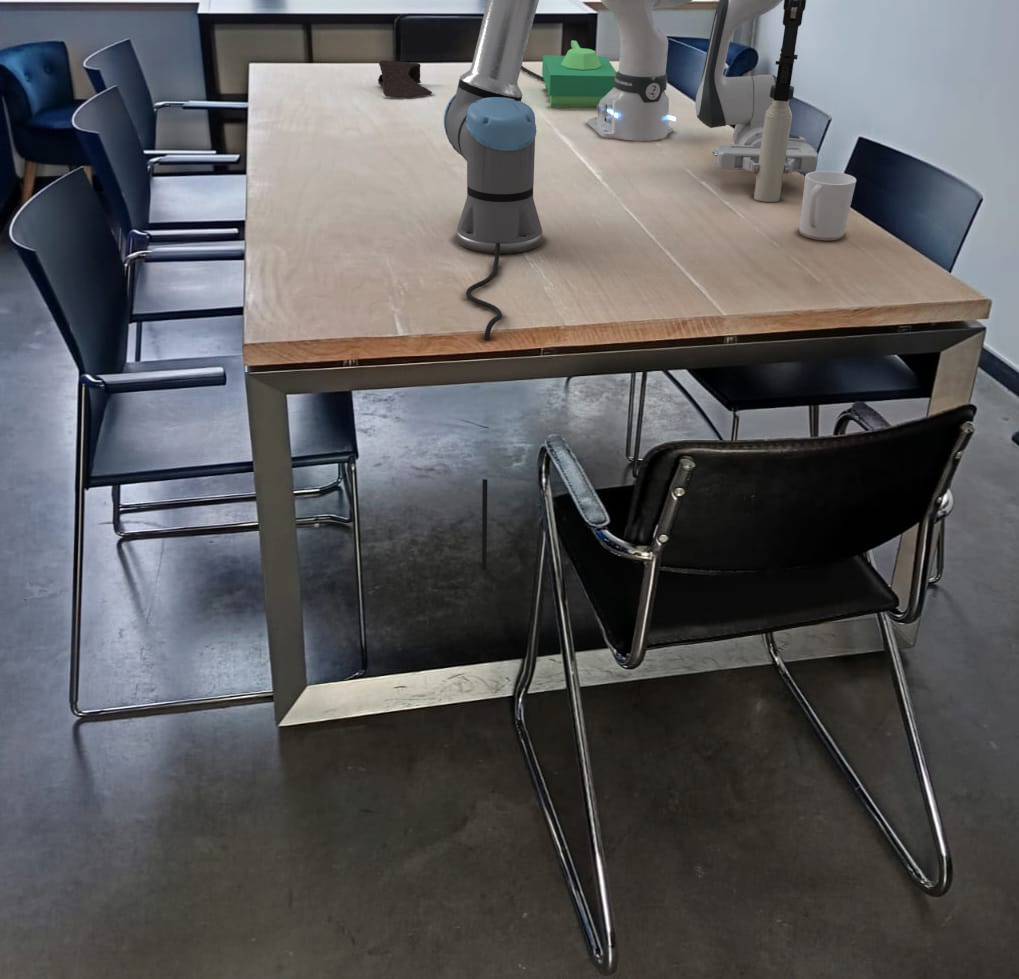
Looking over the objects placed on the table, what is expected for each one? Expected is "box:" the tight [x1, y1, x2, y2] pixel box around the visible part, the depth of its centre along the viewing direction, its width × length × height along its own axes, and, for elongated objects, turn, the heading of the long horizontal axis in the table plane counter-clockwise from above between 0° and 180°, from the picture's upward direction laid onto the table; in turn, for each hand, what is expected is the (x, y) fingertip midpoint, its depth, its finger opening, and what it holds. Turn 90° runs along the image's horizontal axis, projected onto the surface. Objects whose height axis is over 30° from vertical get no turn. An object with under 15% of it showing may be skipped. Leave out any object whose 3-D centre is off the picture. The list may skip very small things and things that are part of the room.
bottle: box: [753, 99, 793, 203], centre depth 216 cm, size 5×5×21 cm
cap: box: [770, 85, 795, 101], centre depth 210 cm, size 4×4×2 cm
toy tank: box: [541, 40, 617, 108], centre depth 296 cm, size 18×12×35 cm
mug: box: [798, 170, 857, 241], centre depth 199 cm, size 11×9×10 cm
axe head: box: [377, 59, 433, 99], centre depth 299 cm, size 18×8×15 cm
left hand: (781, 97), depth 211 cm, fingers closed on cap, 4 cm apart
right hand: (772, 169), depth 217 cm, fingers closed on bottle, 5 cm apart
